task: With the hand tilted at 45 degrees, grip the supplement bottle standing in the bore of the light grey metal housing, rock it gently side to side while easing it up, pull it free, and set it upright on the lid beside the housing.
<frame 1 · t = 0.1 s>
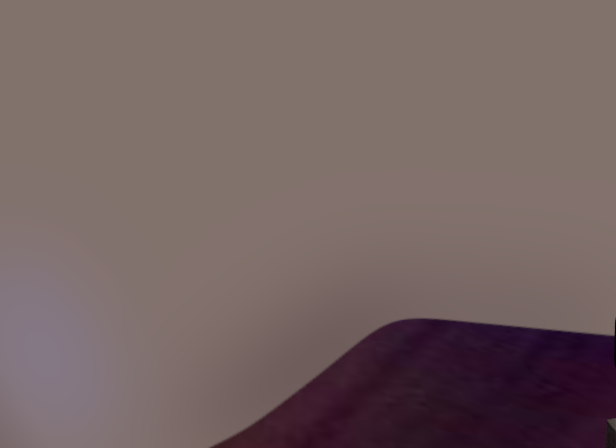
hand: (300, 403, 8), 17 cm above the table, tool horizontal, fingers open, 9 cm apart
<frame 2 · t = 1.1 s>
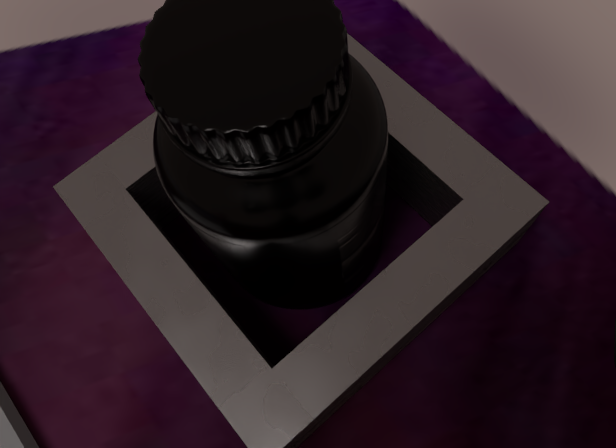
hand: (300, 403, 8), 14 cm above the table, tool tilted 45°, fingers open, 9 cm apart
supplement bottle: (300, 236, 23), resting in housing
housing: (300, 234, 23), on the table
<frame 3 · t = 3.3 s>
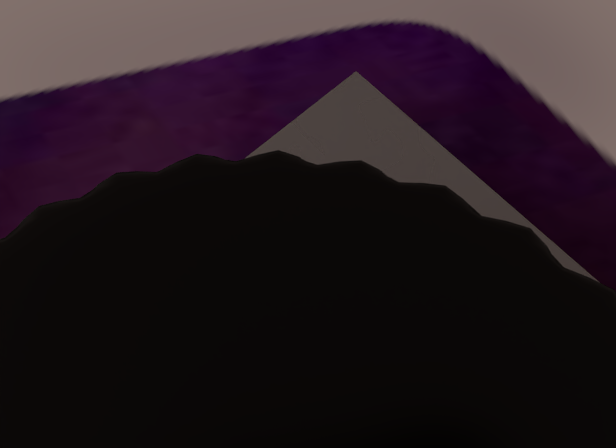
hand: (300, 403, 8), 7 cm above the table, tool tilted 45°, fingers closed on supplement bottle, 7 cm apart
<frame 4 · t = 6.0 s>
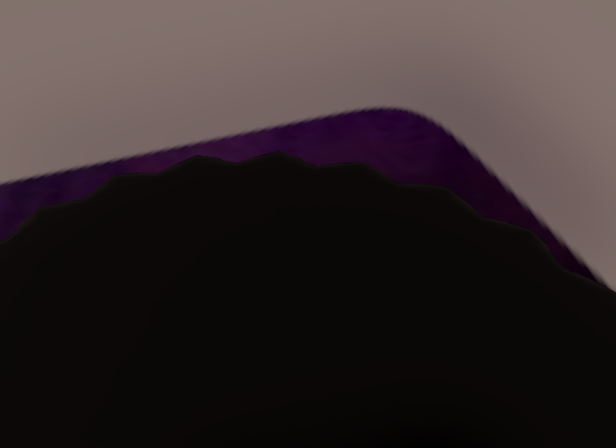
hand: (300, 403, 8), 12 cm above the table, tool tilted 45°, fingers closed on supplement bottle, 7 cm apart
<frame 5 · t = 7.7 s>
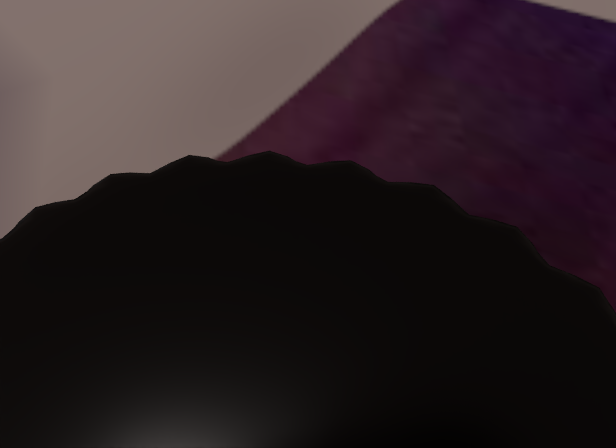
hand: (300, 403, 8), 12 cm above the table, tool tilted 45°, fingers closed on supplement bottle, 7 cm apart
when the fingers open (9 cm above the table, at t = 9.0 s): supplement bottle drops 1 cm, resting on lid.
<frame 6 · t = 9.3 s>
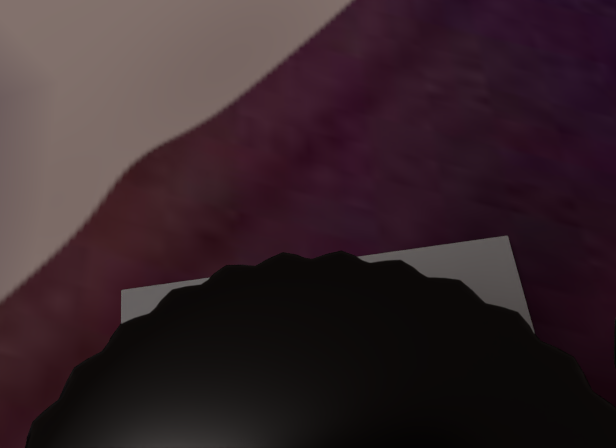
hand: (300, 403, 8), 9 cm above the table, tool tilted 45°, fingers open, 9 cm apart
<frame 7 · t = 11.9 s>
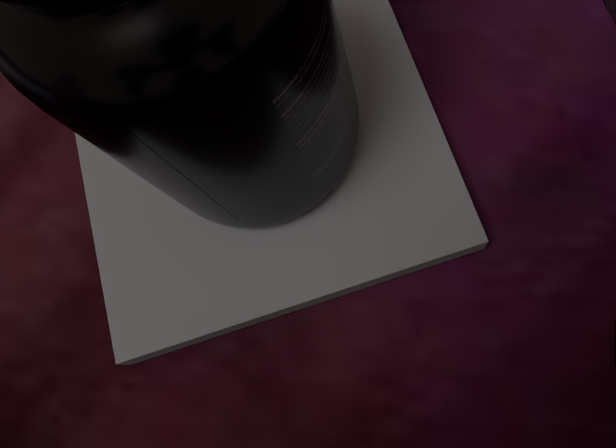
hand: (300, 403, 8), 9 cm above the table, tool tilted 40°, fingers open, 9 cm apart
supplement bottle: (260, 137, 18), point 1 cm above the table, touching lid
lid: (254, 146, 19), on the table
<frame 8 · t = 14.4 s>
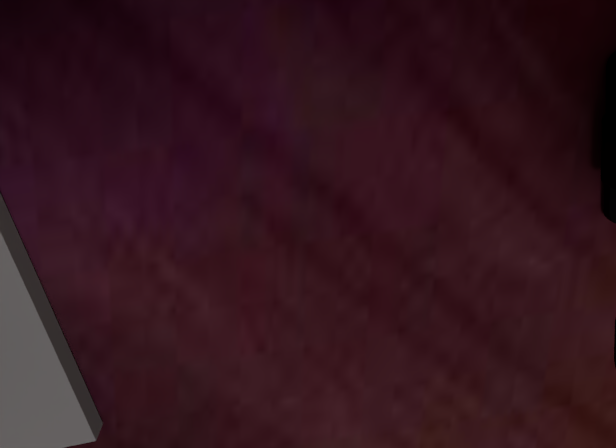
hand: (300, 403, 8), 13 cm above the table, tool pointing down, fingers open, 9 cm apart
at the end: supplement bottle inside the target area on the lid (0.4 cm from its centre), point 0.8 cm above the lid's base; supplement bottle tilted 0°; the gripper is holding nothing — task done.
